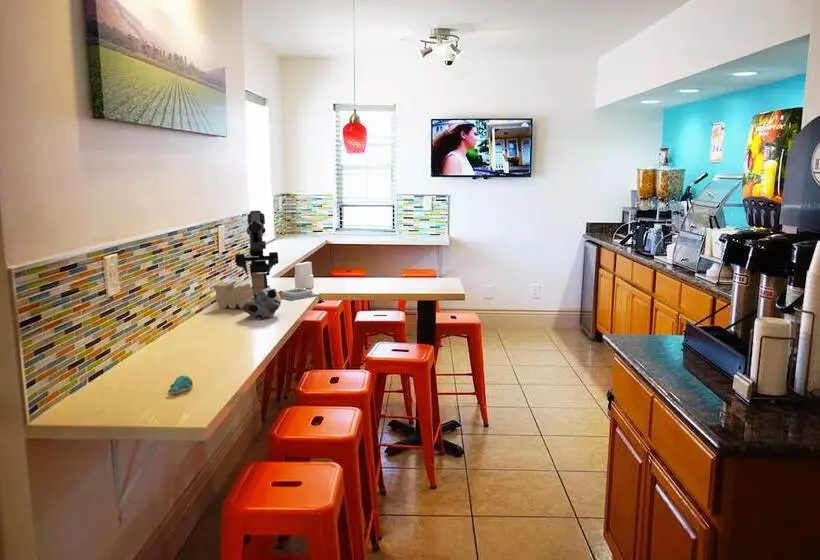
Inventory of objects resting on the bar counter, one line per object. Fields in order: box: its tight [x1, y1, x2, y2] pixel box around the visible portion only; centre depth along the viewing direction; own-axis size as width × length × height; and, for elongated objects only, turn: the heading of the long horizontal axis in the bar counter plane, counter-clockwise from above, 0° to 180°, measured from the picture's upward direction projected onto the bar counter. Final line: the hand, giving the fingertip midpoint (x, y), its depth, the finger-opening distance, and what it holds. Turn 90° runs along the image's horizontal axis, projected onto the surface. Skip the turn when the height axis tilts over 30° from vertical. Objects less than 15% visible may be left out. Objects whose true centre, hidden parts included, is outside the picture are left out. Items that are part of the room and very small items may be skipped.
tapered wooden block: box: [250, 272, 265, 296], centre depth 280 cm, size 5×5×12 cm
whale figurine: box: [167, 375, 194, 395], centre depth 166 cm, size 6×7×4 cm
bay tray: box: [282, 288, 319, 301], centre depth 290 cm, size 14×14×2 cm
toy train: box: [212, 282, 254, 310], centre depth 268 cm, size 6×17×10 cm, turn 71°
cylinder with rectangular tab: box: [294, 261, 315, 289], centre depth 310 cm, size 9×9×12 cm
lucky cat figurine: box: [239, 287, 284, 321], centre depth 249 cm, size 15×12×14 cm
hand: (257, 273), depth 284 cm, fingers open, 9 cm apart
